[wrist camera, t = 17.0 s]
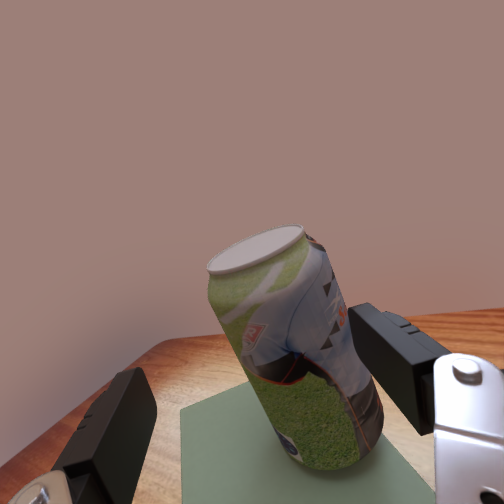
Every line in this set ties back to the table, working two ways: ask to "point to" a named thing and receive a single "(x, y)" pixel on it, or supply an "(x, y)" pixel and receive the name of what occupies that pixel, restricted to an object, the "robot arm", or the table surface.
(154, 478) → the table surface
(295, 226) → the beverage can
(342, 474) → the green open cubby
